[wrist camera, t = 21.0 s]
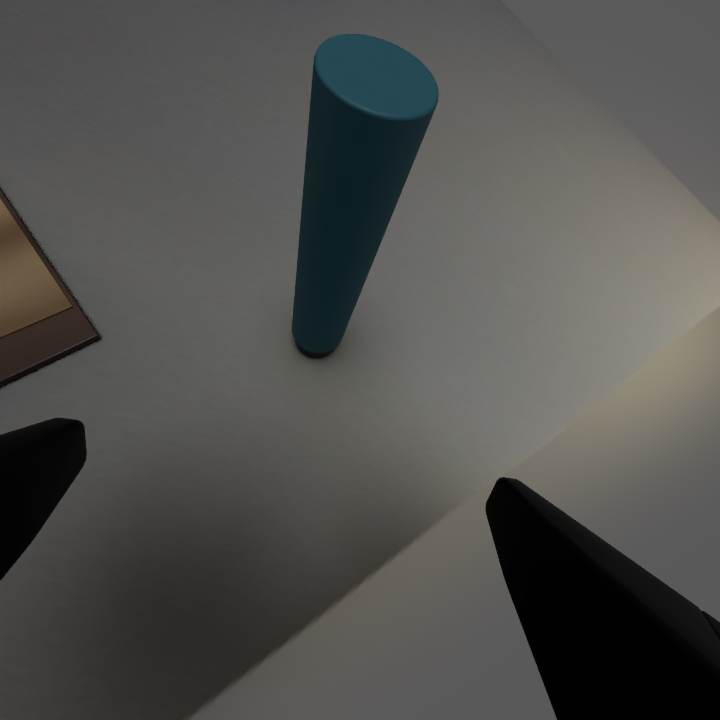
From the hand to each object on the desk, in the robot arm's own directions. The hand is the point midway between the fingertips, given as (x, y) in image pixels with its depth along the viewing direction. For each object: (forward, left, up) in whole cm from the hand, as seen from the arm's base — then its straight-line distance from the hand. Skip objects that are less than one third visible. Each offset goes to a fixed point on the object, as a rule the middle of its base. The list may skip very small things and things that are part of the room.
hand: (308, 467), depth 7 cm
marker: (+6, -6, -10) cm, 13 cm away
